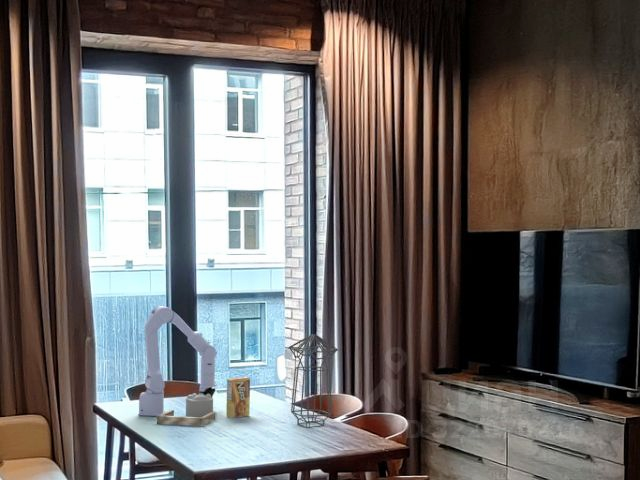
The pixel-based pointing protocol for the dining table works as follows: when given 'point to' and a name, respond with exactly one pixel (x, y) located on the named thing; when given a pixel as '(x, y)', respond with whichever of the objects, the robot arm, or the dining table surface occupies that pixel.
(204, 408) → the lumpy-topped squat cylinder
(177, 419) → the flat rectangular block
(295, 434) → the dining table surface
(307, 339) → the geometric lantern
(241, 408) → the candy box
